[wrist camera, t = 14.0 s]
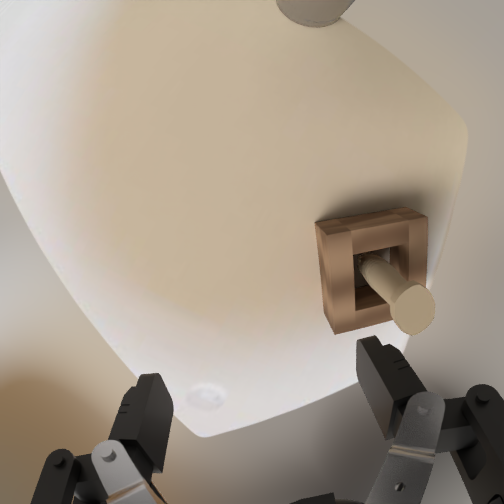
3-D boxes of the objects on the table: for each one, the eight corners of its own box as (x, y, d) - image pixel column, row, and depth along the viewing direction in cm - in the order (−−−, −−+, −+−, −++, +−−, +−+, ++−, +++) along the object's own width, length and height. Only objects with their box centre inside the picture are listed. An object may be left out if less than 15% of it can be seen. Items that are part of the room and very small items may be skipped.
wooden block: (314, 222, 41) (326, 235, 35) (405, 207, 41) (427, 216, 35) (324, 312, 45) (334, 334, 40) (405, 292, 45) (423, 310, 40)
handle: (368, 233, 42) (423, 276, 28) (387, 266, 44) (440, 316, 29) (341, 253, 43) (386, 305, 28) (362, 285, 44) (407, 342, 30)
